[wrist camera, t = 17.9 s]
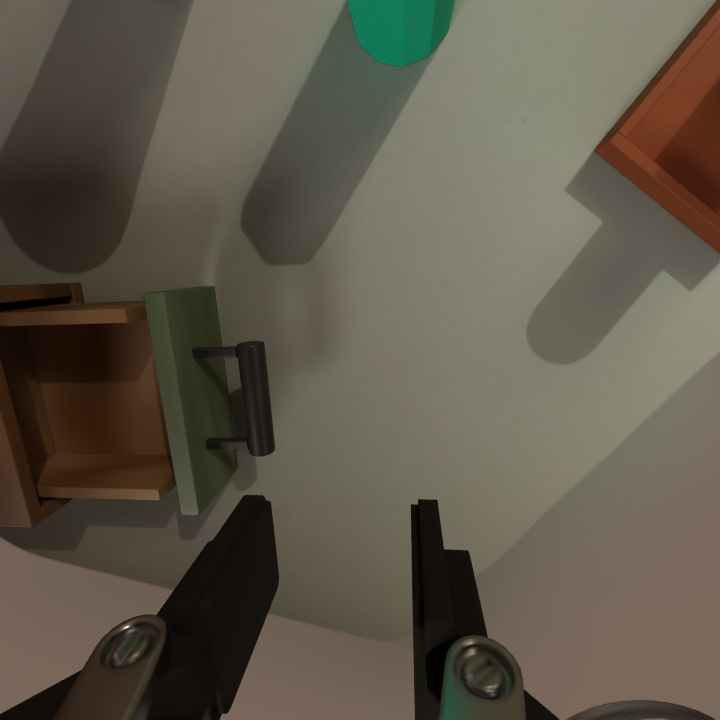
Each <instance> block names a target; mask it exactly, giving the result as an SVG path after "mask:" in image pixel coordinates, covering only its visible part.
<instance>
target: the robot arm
mask: <svg viewBox="0 0 720 720" xmlns="http://www.w3.org/2000/svg"><path fill="white" fill-rule="evenodd" d="M411 541H412V601H413V646H414V647H413V648H414V693H415V694H414V695H415V720H559V719H558V718H557V717H556V716H555V715H554V714H552V713H551V712H550V711H549V710H548V709H547V708H545V707H544V706H543V705H542V704H541V703H539V702H538V701H537V700H536V699H535V698H534V697H532V696H531V695H530V694H529V693H528V692H526V691H525V690H524V689H523V688H524V687H523V677H522V673H521V669H520V667H519V665H518V663H517V661H516V659H515V657H514V656H513V655H512V654H511V653H510V652H509V651H508V650H507V649H506V648H505V647H504V646H503V645H501V644H500V643H498V642H497V641H495V640H493V639H490V638H488V636H487V631H486V627H485V623H484V618H483V613H482V609H481V604H480V600H479V595H478V590H477V586H476V581H475V577H474V572H473V568H472V563H471V559H470V555H469V552H468V550H446V549H444V546H443V539H442V531H441V524H440V516H439V509H438V502H437V500H423V499H418V505H413V504H411ZM278 583H279V571H278V562H277V553H276V544H275V535H274V526H273V517H272V508H271V502H270V501H266V500H265V497H264V496H263V495H244V496H243V497H242V499H241V500H240V502H239V503H238V505H237V506H236V508H235V509H234V510H233V512H232V513H231V515H230V516H229V518H228V519H227V521H226V522H225V523H224V525H223V526H222V528H221V529H220V531H219V532H218V534H217V535H216V536H215V538H214V539H213V540H212V541H210V542H208V543H207V544H206V546H205V547H204V548H203V550H202V551H201V553H200V554H199V555H198V557H197V558H196V560H195V561H194V563H193V564H192V565H191V567H190V568H189V570H188V571H187V572H186V574H185V575H184V577H183V578H182V580H181V581H180V582H179V584H178V585H177V587H176V588H175V589H174V591H173V592H172V594H171V595H170V597H169V598H168V600H167V601H166V603H165V604H164V605H163V607H162V608H161V609H160V611H159V612H158V614H157V615H147V614H145V615H140V616H136V617H133V618H131V619H128V620H126V621H124V622H122V623H120V624H119V625H117V626H116V627H114V628H113V629H112V630H110V631H109V632H108V633H107V634H106V635H105V636H104V637H103V638H102V639H101V641H100V642H99V643H98V645H97V646H96V647H95V649H94V651H93V652H92V654H91V656H90V657H89V659H88V661H87V662H86V664H85V666H84V667H83V669H82V670H81V671H79V672H77V673H75V674H73V675H71V676H70V677H68V678H66V679H64V680H62V681H60V682H59V683H57V684H55V685H53V686H51V687H49V688H47V689H46V690H44V691H42V692H40V693H38V694H36V695H35V696H33V697H31V698H29V699H27V700H25V701H24V702H22V703H20V704H18V705H16V706H14V707H12V708H11V709H9V710H7V711H5V712H3V713H1V714H0V720H219V719H220V717H221V715H222V713H223V714H226V713H228V712H229V710H230V708H231V706H232V703H233V701H234V698H235V696H236V693H237V691H238V688H239V686H240V683H241V680H242V678H243V675H244V673H245V670H246V667H247V665H248V663H249V660H250V657H251V655H252V652H253V650H254V647H255V645H256V642H257V640H258V637H259V634H260V632H261V629H262V627H263V624H264V622H265V619H266V617H267V614H268V611H269V609H270V606H271V604H272V601H273V599H274V596H275V594H276V591H277V588H278Z"/></svg>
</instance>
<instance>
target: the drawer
mask: <svg viewBox="0 0 720 720" xmlns="http://www.w3.org/2000/svg"><path fill="white" fill-rule="evenodd" d="M143 295H144V301H129V302H102V303H75V304H48V305H21V306H12V307H3V308H0V357H1V361H2V365H3V368H4V372H5V376H6V380H7V383H8V387H9V391H10V395H11V398H12V402H13V406H14V410H15V413H16V417H17V421H18V425H19V428H20V432H21V436H22V440H23V443H24V447H25V451H26V455H27V458H28V462H29V466H30V470H31V473H32V477H33V481H34V485H35V488H36V492H37V496H38V497H54V498H91V499H128V500H161V499H162V498H163V497H164V496H165V495H166V494H167V493H168V492H169V491H170V490H171V489H172V488H173V487H174V486H175V485H176V486H177V492H178V498H179V504H180V510H181V515H200V514H201V512H202V511H203V510H204V509H205V508H206V506H207V505H208V504H209V503H210V501H211V500H212V499H213V498H214V496H215V495H216V494H217V493H218V492H219V490H220V489H221V488H222V487H223V485H224V484H225V483H226V482H227V480H228V479H229V478H230V477H231V476H232V474H233V473H234V472H235V471H236V469H237V468H238V464H237V456H236V450H248V449H249V453H250V454H251V455H252V456H258V457H259V456H266V455H269V454H271V453H272V452H274V450H275V443H274V433H273V423H272V414H271V404H270V394H269V385H268V375H267V365H266V356H265V346H264V342H261V341H249V342H243V343H239V344H237V346H229V347H222V340H221V332H220V324H219V317H218V309H217V301H216V293H215V287H214V286H203V287H192V288H183V289H175V290H167V291H158V292H150V293H144V294H143ZM237 357H238V362H239V370H240V379H241V387H242V395H243V403H244V412H245V420H246V428H247V437H248V438H234V433H233V425H232V417H231V409H230V402H229V394H228V386H227V378H226V371H225V363H224V358H237Z"/></svg>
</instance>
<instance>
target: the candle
mask: <svg viewBox="0 0 720 720" xmlns="http://www.w3.org/2000/svg"><path fill="white" fill-rule="evenodd" d="M347 3H348V7H349V12H350V15H351V19H352V22H353V26H354V29H355V33H356V36H357V40H358V43H359V44H360V45H361V46H362V47H363V48H364V49H365V50H366V51H367V52H368V53H369V54H370V55H371V56H372V57H373V58H374V59H375V60H376V61H377V62H381V63H387V64H392V65H397V66H403V67H404V66H406V65H408V64H411V63H413V62H415V61H418V60H420V59H423V58H425V57H427V56H429V55H430V54H431V53H432V51H433V50H434V49H435V48H436V46H437V45H438V44H439V42H440V41H441V40H442V39H443V37H444V36H445V35H446V34H447V32H448V30H449V26H450V21H451V17H452V12H453V8H454V3H455V0H347Z"/></svg>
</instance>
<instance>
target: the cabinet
mask: <svg viewBox="0 0 720 720" xmlns="http://www.w3.org/2000/svg"><path fill="white" fill-rule="evenodd" d="M75 303H84V298H83V293H82V289H81V284H80V283H58V284H35V285H12V286H0V308H3V307H12V306H21V305H48V304H75ZM72 499H73V498H54V497H38V496H37V492H36V488H35V485H34V481H33V477H32V473H31V470H30V466H29V462H28V458H27V455H26V451H25V447H24V443H23V440H22V436H21V432H20V428H19V425H18V421H17V417H16V413H15V410H14V406H13V402H12V398H11V395H10V391H9V387H8V383H7V380H6V376H5V372H4V368H3V365H2V361H1V357H0V527H25V528H32V527H34V526H35V525H36V524H38V523H39V522H41V521H42V520H43V519H45V518H47V517H48V516H49V515H51V514H52V513H54V512H55V511H56V510H58V509H59V508H61V507H62V506H63V505H65V504H66V503H68V502H69V501H70V500H72Z"/></svg>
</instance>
